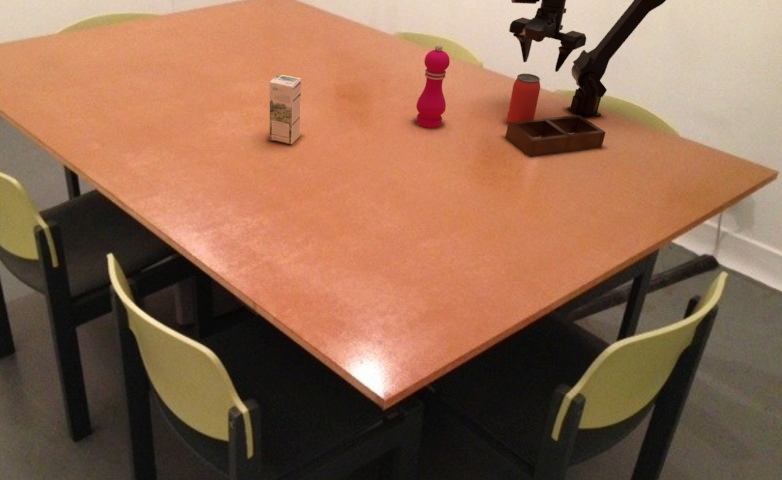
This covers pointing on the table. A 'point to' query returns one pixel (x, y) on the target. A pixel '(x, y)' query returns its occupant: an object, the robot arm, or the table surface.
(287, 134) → the syrup box
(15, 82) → the table surface
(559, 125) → the can rack
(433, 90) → the pepper mill
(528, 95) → the beer can
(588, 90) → the robot arm
